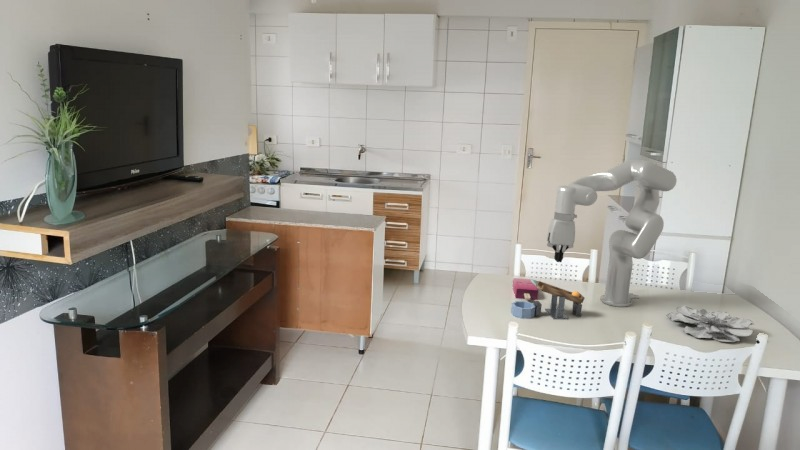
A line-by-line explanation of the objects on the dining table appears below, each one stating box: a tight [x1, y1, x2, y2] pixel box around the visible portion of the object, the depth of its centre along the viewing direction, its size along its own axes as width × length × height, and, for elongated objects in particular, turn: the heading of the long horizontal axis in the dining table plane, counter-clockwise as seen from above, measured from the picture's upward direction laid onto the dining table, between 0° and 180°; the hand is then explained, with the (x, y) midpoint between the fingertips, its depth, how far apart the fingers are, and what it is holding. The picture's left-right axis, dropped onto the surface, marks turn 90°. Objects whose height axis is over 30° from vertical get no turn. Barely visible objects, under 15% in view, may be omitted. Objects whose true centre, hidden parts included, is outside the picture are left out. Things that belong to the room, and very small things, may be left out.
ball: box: [571, 290, 581, 297], centre depth 231 cm, size 3×3×3 cm
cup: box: [510, 300, 535, 319], centre depth 231 cm, size 9×9×4 cm
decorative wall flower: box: [665, 304, 755, 343], centre depth 225 cm, size 30×7×30 cm
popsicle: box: [511, 277, 539, 301], centre depth 253 cm, size 9×5×20 cm
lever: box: [530, 278, 585, 304], centre depth 234 cm, size 18×13×3 cm
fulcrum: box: [532, 294, 583, 320], centre depth 231 cm, size 19×10×9 cm, turn 96°
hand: (558, 261), depth 234 cm, fingers closed
